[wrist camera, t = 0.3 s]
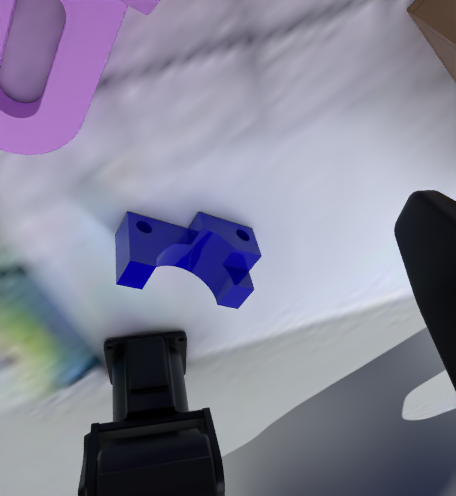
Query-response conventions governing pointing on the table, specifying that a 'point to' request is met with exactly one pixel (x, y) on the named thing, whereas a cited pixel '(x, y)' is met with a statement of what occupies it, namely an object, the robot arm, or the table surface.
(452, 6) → the carton
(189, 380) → the table surface
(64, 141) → the bracket
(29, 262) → the table surface
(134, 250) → the cable holder
